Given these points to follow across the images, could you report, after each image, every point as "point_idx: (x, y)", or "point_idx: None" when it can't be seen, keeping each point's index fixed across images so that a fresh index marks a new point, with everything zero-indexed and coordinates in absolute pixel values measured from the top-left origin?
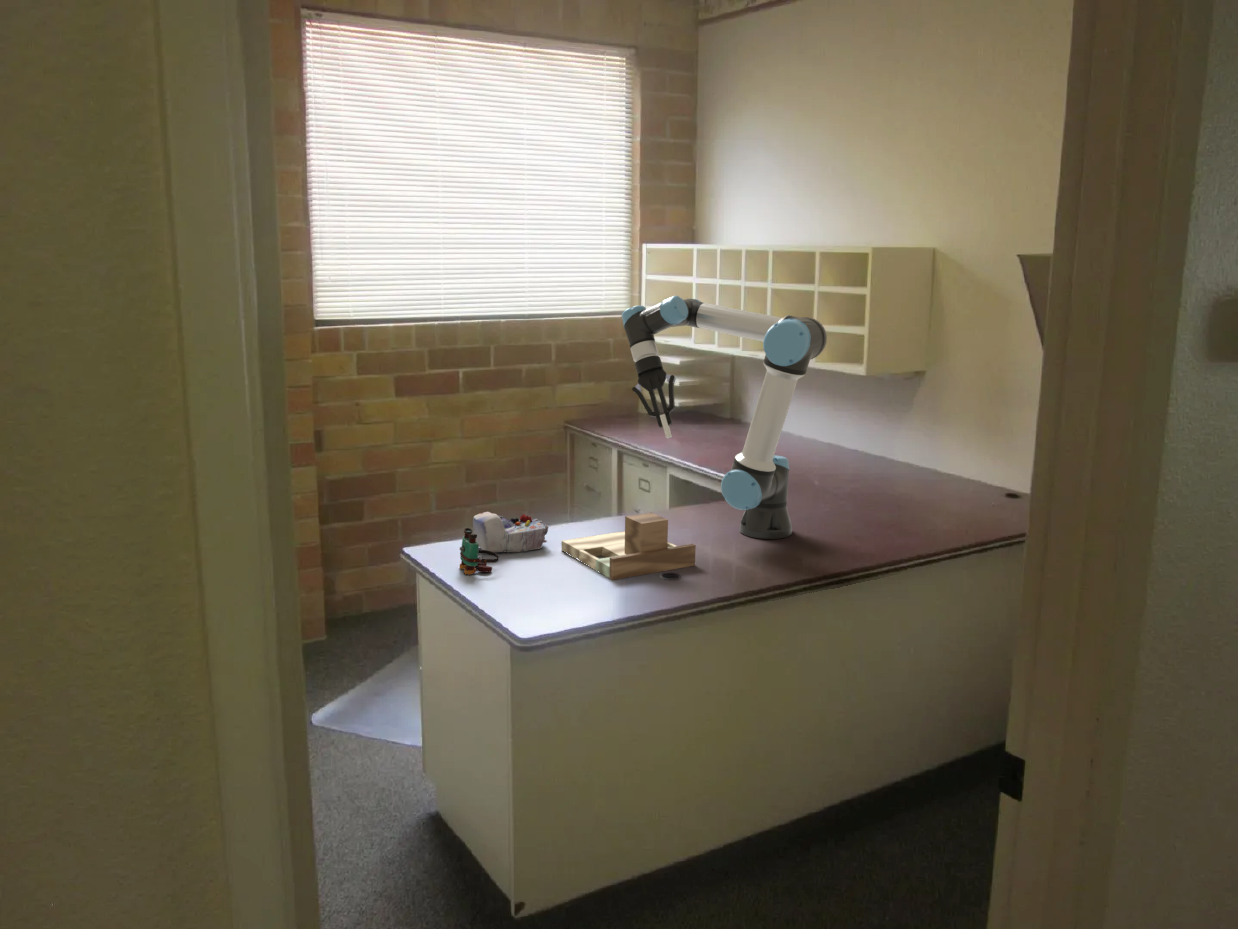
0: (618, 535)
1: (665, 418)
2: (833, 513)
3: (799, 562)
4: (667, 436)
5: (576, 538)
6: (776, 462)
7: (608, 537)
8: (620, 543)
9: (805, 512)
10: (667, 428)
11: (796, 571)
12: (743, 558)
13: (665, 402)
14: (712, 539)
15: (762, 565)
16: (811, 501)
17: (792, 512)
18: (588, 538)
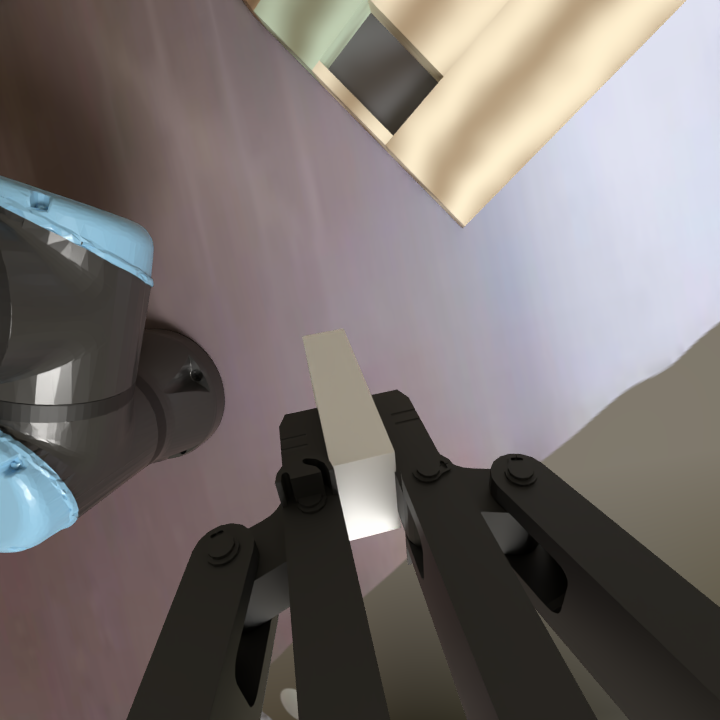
0: (518, 118)
1: (327, 428)
2: (74, 575)
3: (35, 158)
4: (330, 332)
5: (666, 17)
6: None
7: (549, 80)
8: (493, 21)
9: (127, 572)
10: (320, 365)
11: (21, 76)
12: (157, 141)
13: (295, 628)
14: (268, 290)
15: (102, 95)
16: (137, 659)
17: (152, 568)
18: (620, 37)
